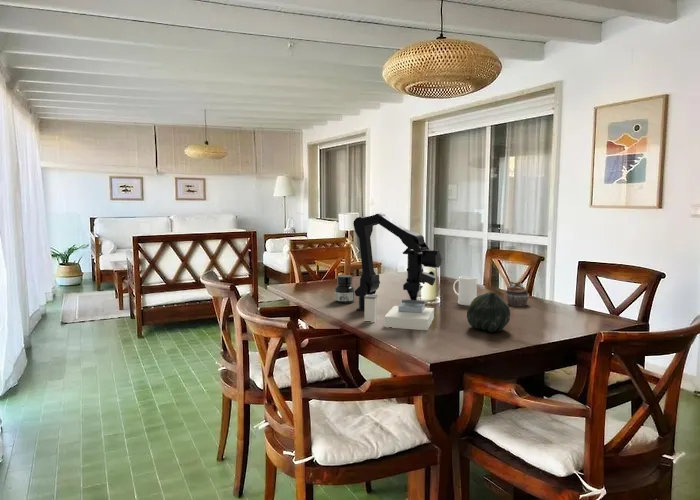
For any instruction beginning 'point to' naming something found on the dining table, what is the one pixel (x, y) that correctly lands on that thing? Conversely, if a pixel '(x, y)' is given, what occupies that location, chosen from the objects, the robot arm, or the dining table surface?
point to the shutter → (412, 306)
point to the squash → (488, 312)
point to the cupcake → (517, 294)
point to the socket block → (409, 319)
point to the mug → (466, 289)
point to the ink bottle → (344, 289)
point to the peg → (370, 307)
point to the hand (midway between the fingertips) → (414, 304)
